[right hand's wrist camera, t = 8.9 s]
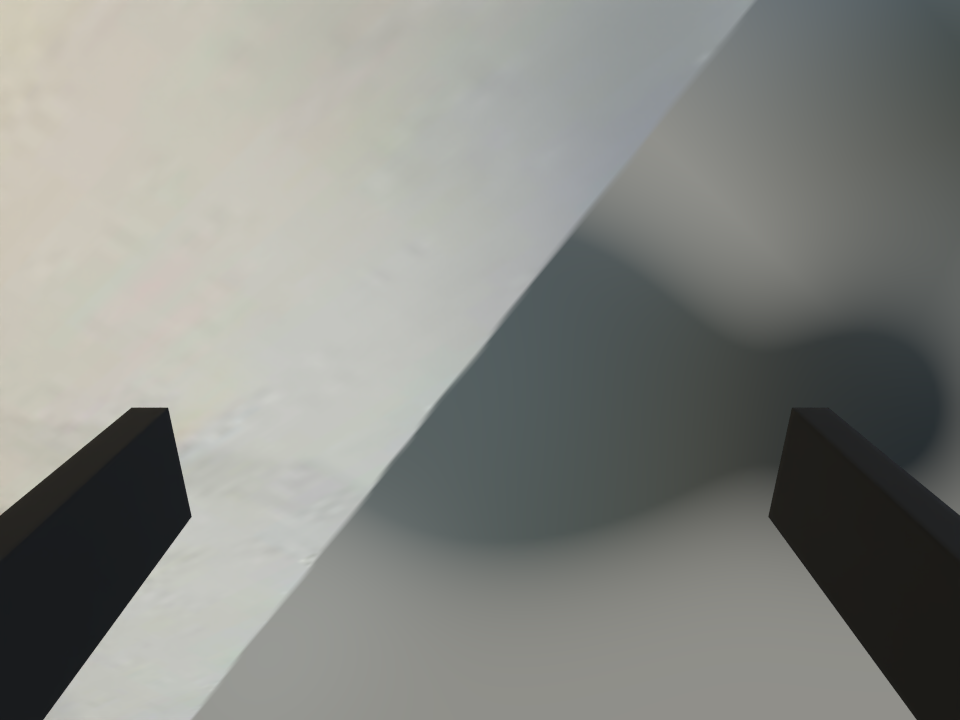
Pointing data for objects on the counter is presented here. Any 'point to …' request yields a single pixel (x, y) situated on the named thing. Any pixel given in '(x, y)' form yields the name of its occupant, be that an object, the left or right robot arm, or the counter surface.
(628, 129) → the counter surface
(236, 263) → the counter surface
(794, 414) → the right robot arm
